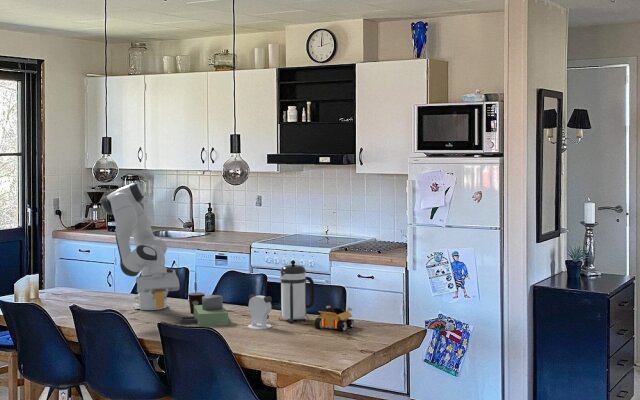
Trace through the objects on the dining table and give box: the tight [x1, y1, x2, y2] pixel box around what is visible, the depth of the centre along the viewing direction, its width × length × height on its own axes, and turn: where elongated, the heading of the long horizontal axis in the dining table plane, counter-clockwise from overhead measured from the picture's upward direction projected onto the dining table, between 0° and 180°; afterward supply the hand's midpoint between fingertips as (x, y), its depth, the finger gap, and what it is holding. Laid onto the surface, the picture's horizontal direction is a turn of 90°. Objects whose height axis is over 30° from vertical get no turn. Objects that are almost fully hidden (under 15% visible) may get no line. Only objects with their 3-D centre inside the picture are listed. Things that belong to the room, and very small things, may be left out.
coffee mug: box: [187, 291, 206, 315], centre depth 437 cm, size 12×9×10 cm
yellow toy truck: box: [314, 305, 355, 332], centre depth 396 cm, size 15×15×11 cm
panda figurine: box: [247, 293, 273, 330], centre depth 401 cm, size 12×11×15 cm
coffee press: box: [278, 259, 315, 324], centre depth 416 cm, size 17×16×30 cm
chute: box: [154, 290, 164, 308], centre depth 402 cm, size 4×4×8 cm
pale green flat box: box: [179, 294, 229, 327], centre depth 415 cm, size 24×22×12 cm
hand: (159, 298), depth 401 cm, fingers closed on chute, 4 cm apart
